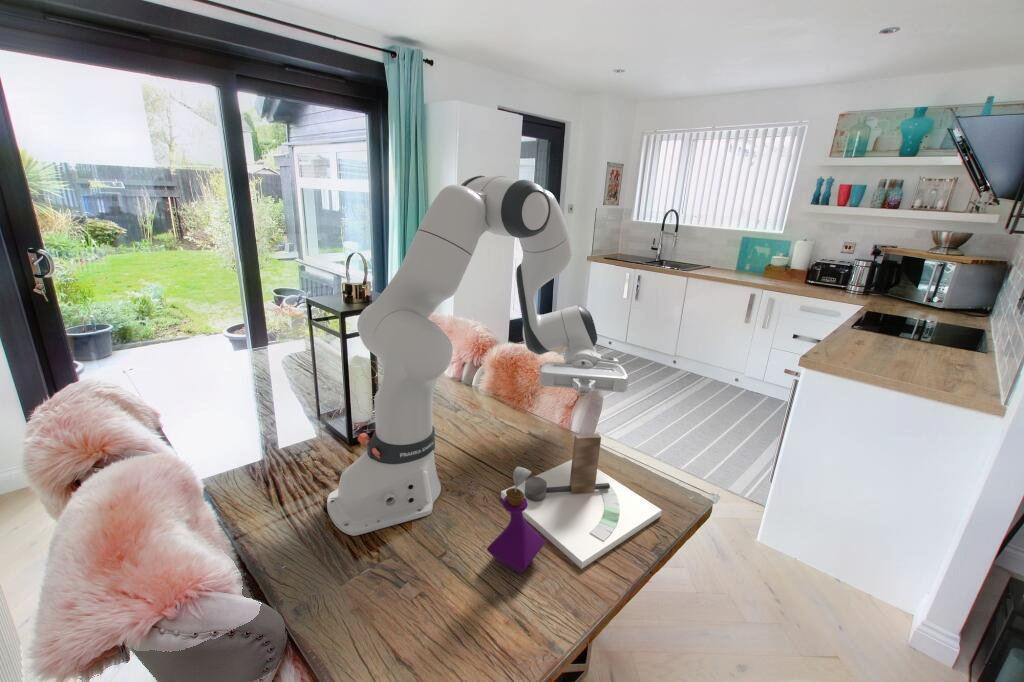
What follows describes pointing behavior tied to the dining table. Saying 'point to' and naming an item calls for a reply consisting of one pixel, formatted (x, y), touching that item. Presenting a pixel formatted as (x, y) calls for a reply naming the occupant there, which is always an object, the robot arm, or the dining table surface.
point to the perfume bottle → (516, 530)
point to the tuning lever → (573, 470)
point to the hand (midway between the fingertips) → (584, 391)
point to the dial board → (587, 515)
